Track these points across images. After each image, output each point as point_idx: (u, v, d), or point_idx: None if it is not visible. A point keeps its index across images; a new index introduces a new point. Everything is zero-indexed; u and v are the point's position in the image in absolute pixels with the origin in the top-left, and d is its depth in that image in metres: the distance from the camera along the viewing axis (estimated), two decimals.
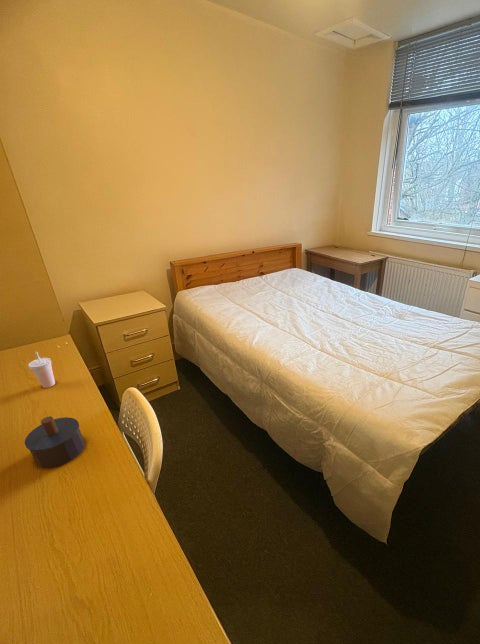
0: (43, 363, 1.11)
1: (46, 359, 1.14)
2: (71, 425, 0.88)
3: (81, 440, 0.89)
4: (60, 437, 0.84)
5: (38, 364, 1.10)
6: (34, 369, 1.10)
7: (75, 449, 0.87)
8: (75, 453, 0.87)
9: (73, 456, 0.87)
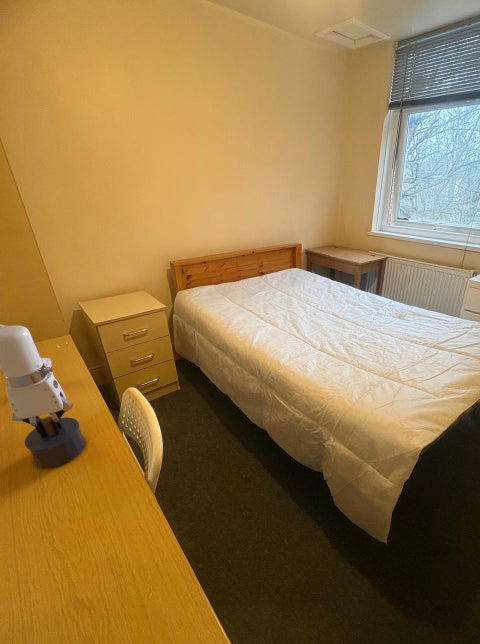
0: (43, 363, 1.11)
1: (46, 359, 1.14)
2: (71, 425, 0.88)
3: (81, 440, 0.89)
4: (60, 437, 0.84)
5: None
6: None
7: (75, 449, 0.87)
8: (75, 453, 0.87)
9: (73, 456, 0.87)
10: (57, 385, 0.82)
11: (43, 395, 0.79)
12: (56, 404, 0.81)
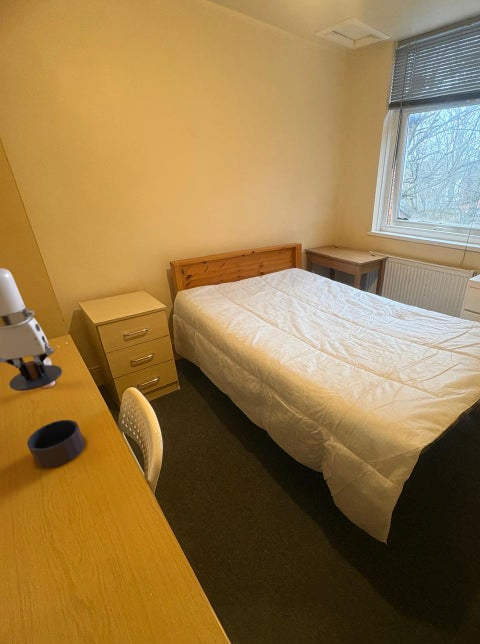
0: None
1: (46, 359, 1.14)
2: (54, 371, 0.93)
3: (81, 440, 0.89)
4: (43, 380, 0.89)
5: None
6: None
7: (75, 449, 0.87)
8: (75, 453, 0.87)
9: (73, 456, 0.87)
10: (39, 329, 0.87)
11: (25, 336, 0.84)
12: (38, 346, 0.86)
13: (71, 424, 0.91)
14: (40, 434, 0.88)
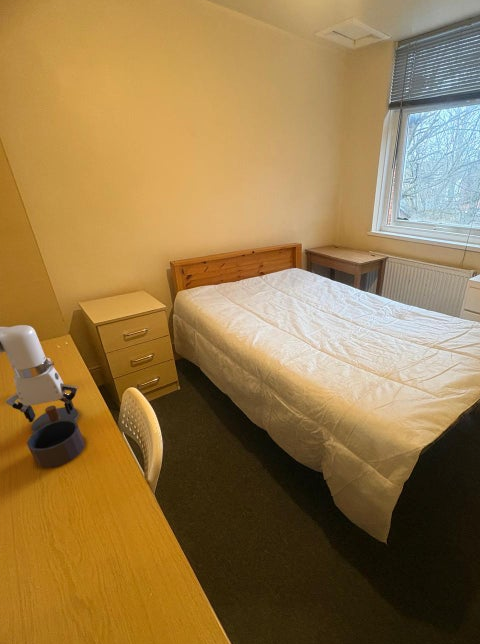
0: None
1: None
2: (71, 413, 1.01)
3: (81, 440, 0.89)
4: None
5: None
6: None
7: (75, 449, 0.87)
8: (75, 453, 0.87)
9: (73, 456, 0.87)
10: (58, 377, 0.94)
11: (46, 385, 0.91)
12: (57, 393, 0.93)
13: (71, 424, 0.91)
14: (40, 434, 0.88)
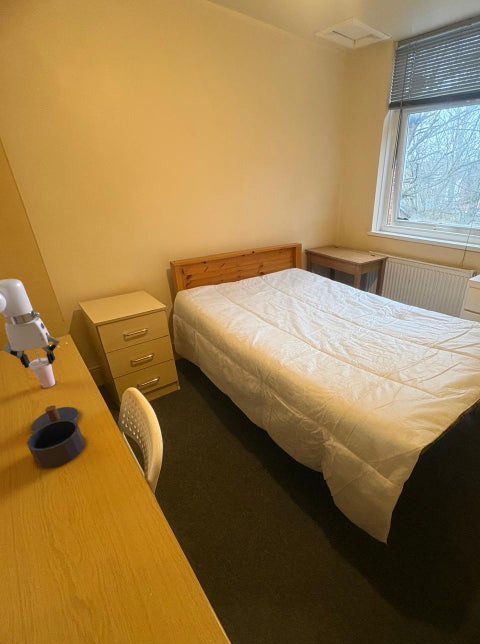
0: (43, 363, 1.11)
1: (46, 359, 1.14)
2: (71, 413, 1.01)
3: (81, 440, 0.89)
4: None
5: (38, 364, 1.10)
6: (34, 369, 1.10)
7: (75, 449, 0.87)
8: (75, 453, 0.87)
9: (73, 456, 0.87)
10: (44, 327, 1.08)
11: (33, 333, 1.05)
12: (43, 341, 1.08)
13: (71, 424, 0.91)
14: (40, 434, 0.88)
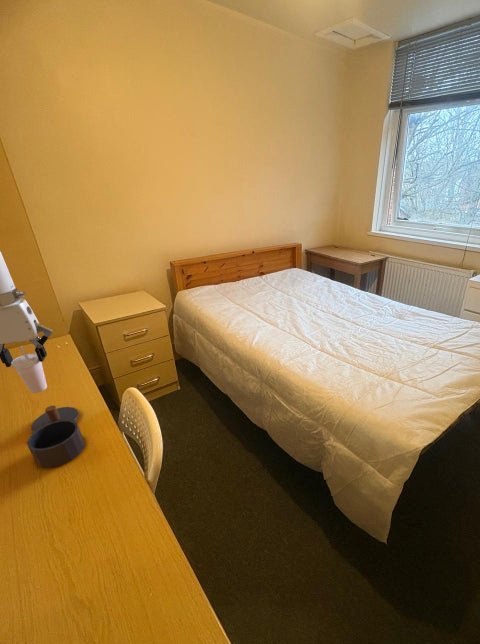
0: (31, 360, 0.84)
1: (35, 355, 0.86)
2: (71, 413, 1.01)
3: (81, 440, 0.89)
4: None
5: (24, 362, 0.83)
6: (19, 368, 0.82)
7: (75, 449, 0.87)
8: (75, 453, 0.87)
9: (73, 456, 0.87)
10: (31, 312, 0.81)
11: (16, 319, 0.78)
12: (30, 331, 0.80)
13: (71, 424, 0.91)
14: (40, 434, 0.88)
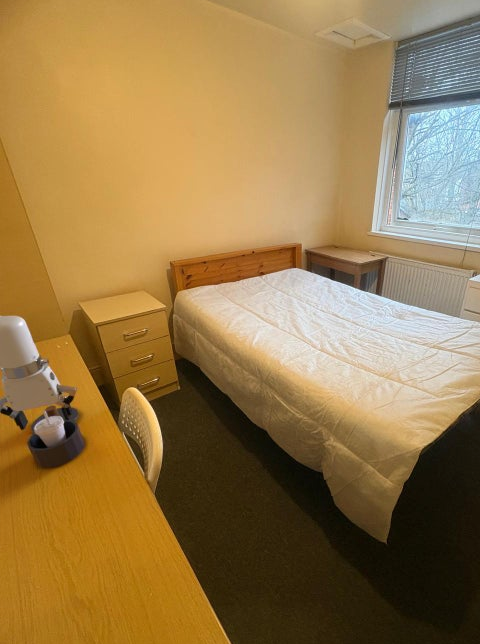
0: (53, 426, 0.84)
1: (57, 418, 0.86)
2: None
3: (81, 440, 0.89)
4: None
5: (47, 427, 0.83)
6: (42, 435, 0.82)
7: (75, 449, 0.87)
8: (75, 453, 0.87)
9: (73, 456, 0.87)
10: (54, 377, 0.81)
11: (39, 387, 0.77)
12: (53, 396, 0.80)
13: (71, 424, 0.91)
14: None
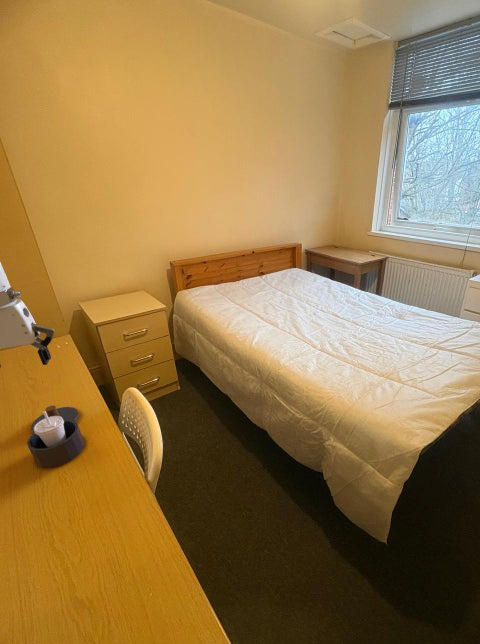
0: (53, 426, 0.84)
1: (57, 418, 0.86)
2: (71, 413, 1.01)
3: (81, 440, 0.89)
4: None
5: (47, 427, 0.83)
6: (42, 435, 0.82)
7: (75, 449, 0.87)
8: (75, 453, 0.87)
9: (73, 456, 0.87)
10: (28, 314, 0.73)
11: (11, 322, 0.69)
12: (27, 335, 0.72)
13: (71, 424, 0.91)
14: None
